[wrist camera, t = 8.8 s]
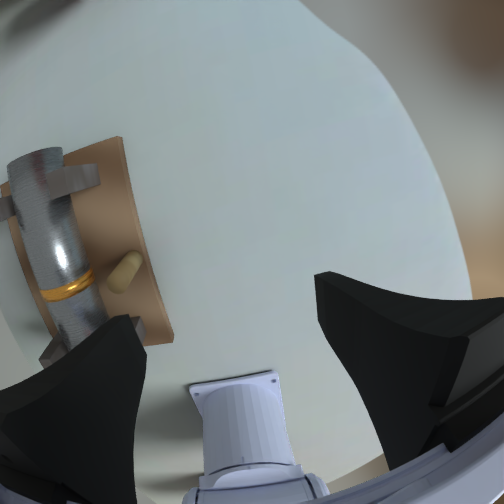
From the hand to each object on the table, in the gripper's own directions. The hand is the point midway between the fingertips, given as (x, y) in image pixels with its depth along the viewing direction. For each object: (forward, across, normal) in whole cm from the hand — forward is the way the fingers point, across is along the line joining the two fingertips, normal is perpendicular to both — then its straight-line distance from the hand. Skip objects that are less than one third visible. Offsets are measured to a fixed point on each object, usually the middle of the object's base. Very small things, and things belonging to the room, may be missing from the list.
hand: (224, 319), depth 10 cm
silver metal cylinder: (+8, +10, -2) cm, 13 cm away
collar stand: (+9, +10, -1) cm, 14 cm away
